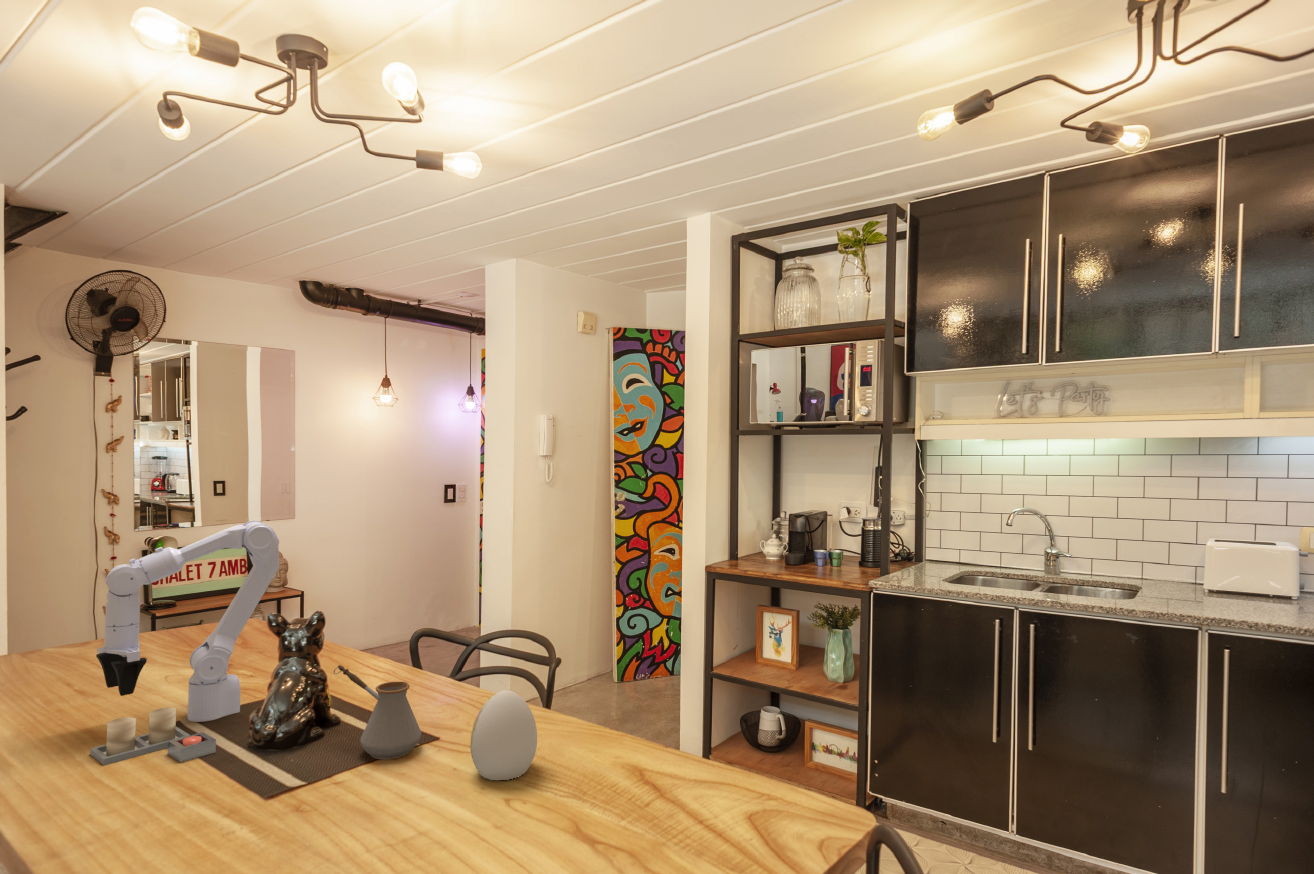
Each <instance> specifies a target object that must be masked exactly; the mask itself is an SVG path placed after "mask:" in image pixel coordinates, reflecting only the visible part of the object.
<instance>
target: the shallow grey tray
mask: <svg viewBox="0 0 1314 874" xmlns="http://www.w3.org/2000/svg"><path fill="white" fill-rule="evenodd" d="M189 735H191V734H189V733H188V732H186V731H184V730H183V729H181V728H180V727H178V726H176V732H175V739H178V738H182V737H186V736H189ZM175 739H172V740H175ZM168 741H171V740H168ZM168 741H164V742H161V743H157V744H153V745H149V744H148V742H149V733H145V734H141V735H138V736H135V749H134V750H131V751H127V752H123V753H119V754H116V755H112V756H108V757H107V756H106V744H102V745H98V746H95V747H90V748H89V756H91V757H93V759H95V760H96V761H97V762H98V763H100V764H101V765H103V766H107V765H111V764H114V763H117V762H122V761H126V760H128V759H132V758H136V757H140V756H143V755H147V754H151V753H155V752H158V751H162V750H166V749H168Z"/></svg>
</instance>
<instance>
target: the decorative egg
mask: <svg viewBox="0 0 1314 874" xmlns="http://www.w3.org/2000/svg"><path fill="white" fill-rule="evenodd" d="M537 747H538V730H537V725H536V721H535V717H534V714H533V712H532V710H531V708H530V706H529V705H528V703H527V702H526V701H525V699H524V698H523V697H522V696H520V695H519V694H518V693H517V692H514V691H511V690H507V689H506V690H501V691H498V692H496V693H494V694H493V695H492V696H490V697H489V698H488V699H487V701H486V702H484V704H483V706H481V708H480V709H479V711H478V713H477V716H476V717H475V720H474V723H473V726H472V730H471V735H470V754H471V759H472V762H473V765H474V766H475V769H476V770H477V772H478V773H479V774H480V776H482V777H483V778H484V779H486V778H487V780H489V779H490V780H489V781H492V780H508V781H510V780H509V779H512V780H514V779H513V778H515V779H517V778H516V777H518V776H520V775H522V774H523V775H525V773H526V772H527V771H528V769H529V768H530V767H531V764H532V762H533V760H534V758H535V756H536V753H537ZM523 775H522V776H523ZM520 777H521V776H520ZM518 778H519V777H518Z"/></svg>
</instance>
